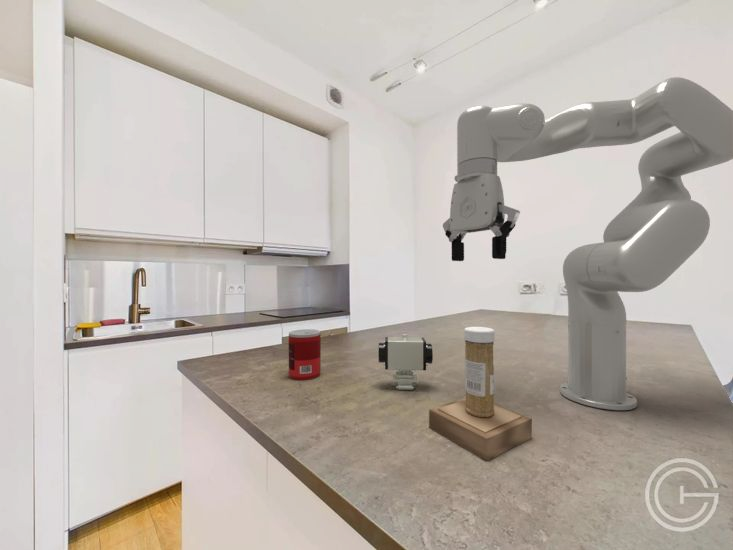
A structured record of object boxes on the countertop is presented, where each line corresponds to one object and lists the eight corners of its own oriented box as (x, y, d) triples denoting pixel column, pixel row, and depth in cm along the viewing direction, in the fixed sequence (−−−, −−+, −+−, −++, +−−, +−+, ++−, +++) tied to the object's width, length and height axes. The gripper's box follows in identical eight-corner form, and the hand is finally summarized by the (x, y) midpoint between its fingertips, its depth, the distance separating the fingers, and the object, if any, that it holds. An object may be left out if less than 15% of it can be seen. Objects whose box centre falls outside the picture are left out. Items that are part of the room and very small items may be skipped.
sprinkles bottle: (501, 415, 48) (500, 329, 48) (479, 420, 46) (479, 331, 46) (479, 404, 52) (479, 325, 53) (458, 408, 51) (458, 327, 51)
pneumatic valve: (432, 392, 66) (432, 336, 66) (378, 391, 67) (378, 335, 67) (429, 383, 72) (429, 332, 72) (379, 382, 73) (379, 331, 73)
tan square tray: (472, 411, 57) (472, 394, 57) (531, 438, 48) (531, 417, 48) (429, 427, 51) (429, 407, 51) (486, 461, 42) (486, 437, 42)
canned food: (326, 373, 79) (326, 330, 79) (304, 382, 72) (304, 336, 72) (304, 368, 83) (304, 328, 83) (282, 377, 76) (282, 332, 76)
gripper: (432, 182, 67) (432, 261, 67) (505, 156, 52) (505, 257, 52) (455, 187, 71) (456, 262, 71) (530, 164, 56) (530, 258, 56)
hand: (477, 259), depth 62 cm, fingers open, 9 cm apart
